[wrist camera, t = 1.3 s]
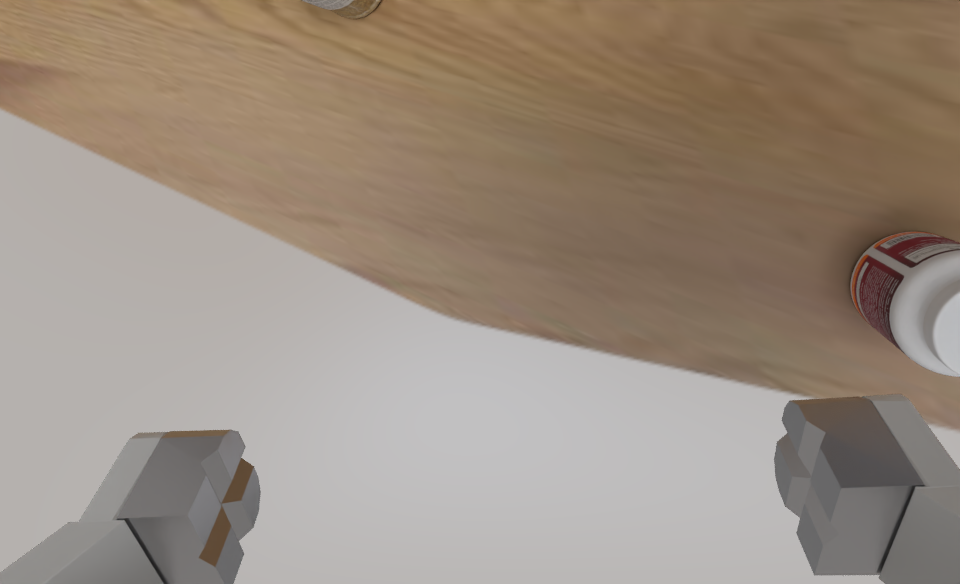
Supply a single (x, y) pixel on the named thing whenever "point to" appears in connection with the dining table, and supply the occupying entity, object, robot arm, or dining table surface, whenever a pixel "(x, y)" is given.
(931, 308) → the pill bottle
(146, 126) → the dining table surface
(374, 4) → the sprinkles bottle
